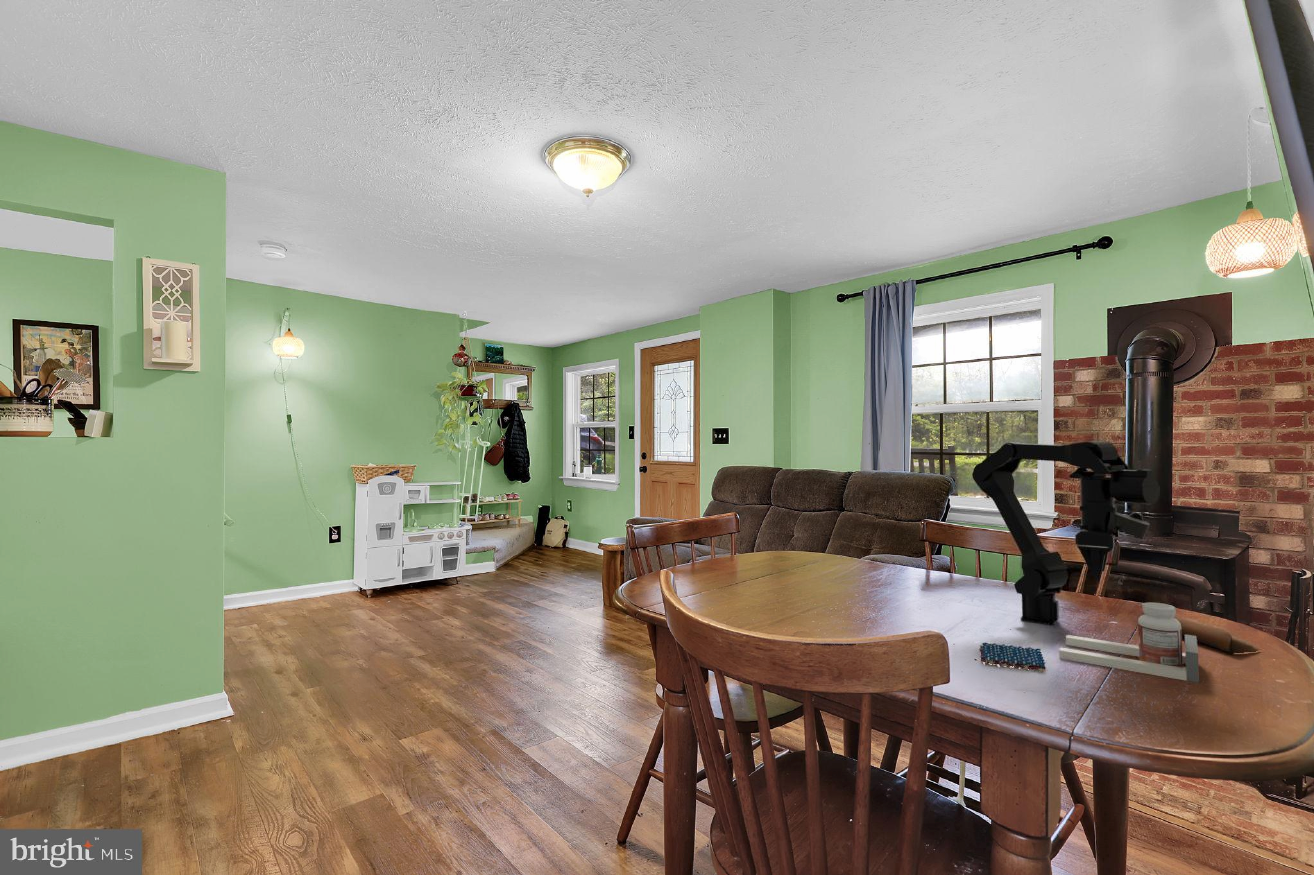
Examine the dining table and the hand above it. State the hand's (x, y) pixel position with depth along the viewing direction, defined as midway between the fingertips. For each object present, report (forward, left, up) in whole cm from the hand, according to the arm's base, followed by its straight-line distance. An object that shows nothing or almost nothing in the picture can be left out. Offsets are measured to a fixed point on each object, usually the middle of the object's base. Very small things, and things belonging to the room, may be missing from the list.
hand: (1099, 574), depth 129 cm
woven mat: (-12, -26, -14) cm, 32 cm away
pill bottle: (+10, -14, -13) cm, 22 cm away
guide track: (+5, -14, -13) cm, 20 cm away
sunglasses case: (+16, +10, -14) cm, 24 cm away
